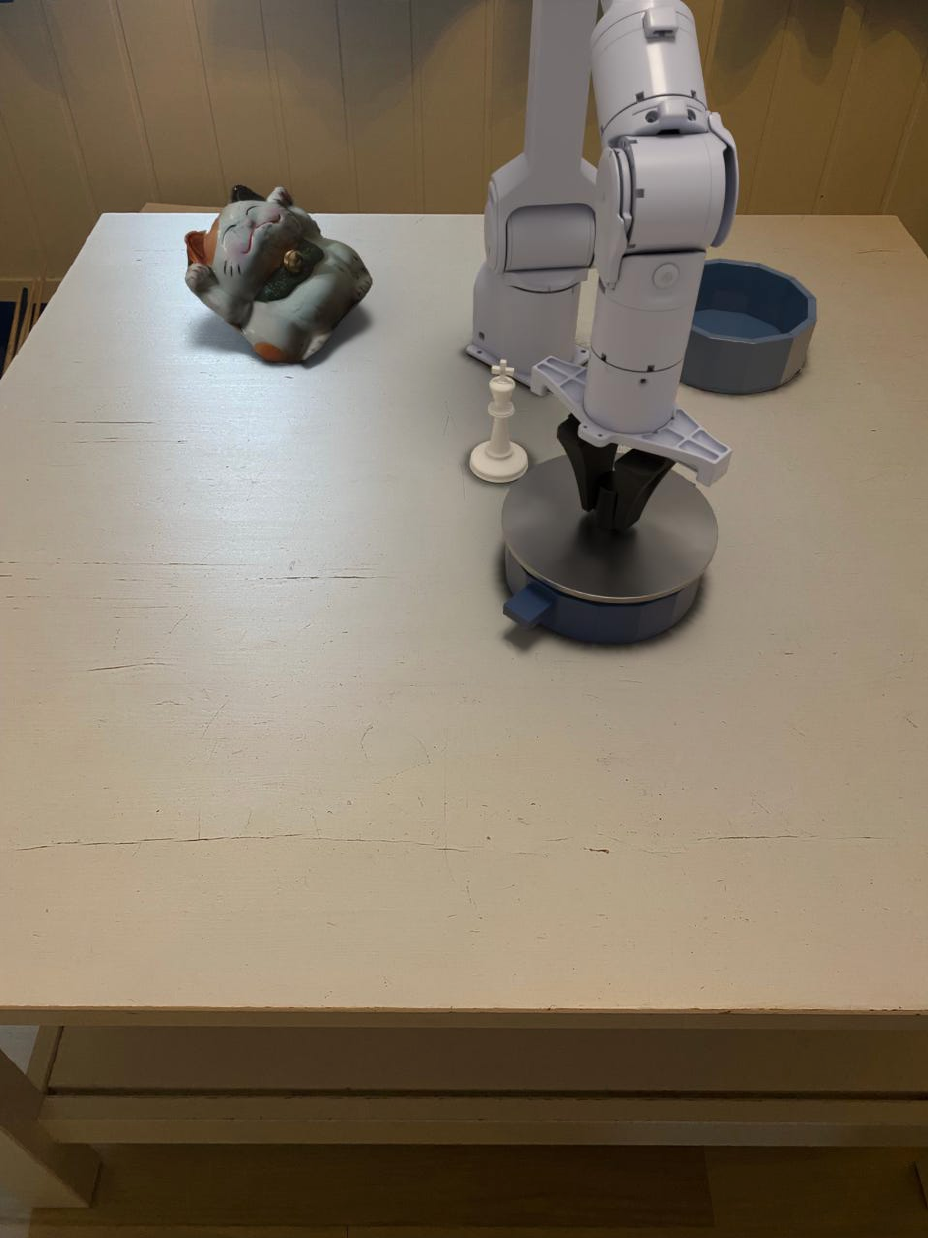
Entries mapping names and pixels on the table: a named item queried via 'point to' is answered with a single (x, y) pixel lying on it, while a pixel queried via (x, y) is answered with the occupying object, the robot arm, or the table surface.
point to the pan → (589, 610)
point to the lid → (608, 535)
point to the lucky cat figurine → (274, 274)
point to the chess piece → (500, 435)
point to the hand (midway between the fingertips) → (609, 513)
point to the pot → (747, 328)
